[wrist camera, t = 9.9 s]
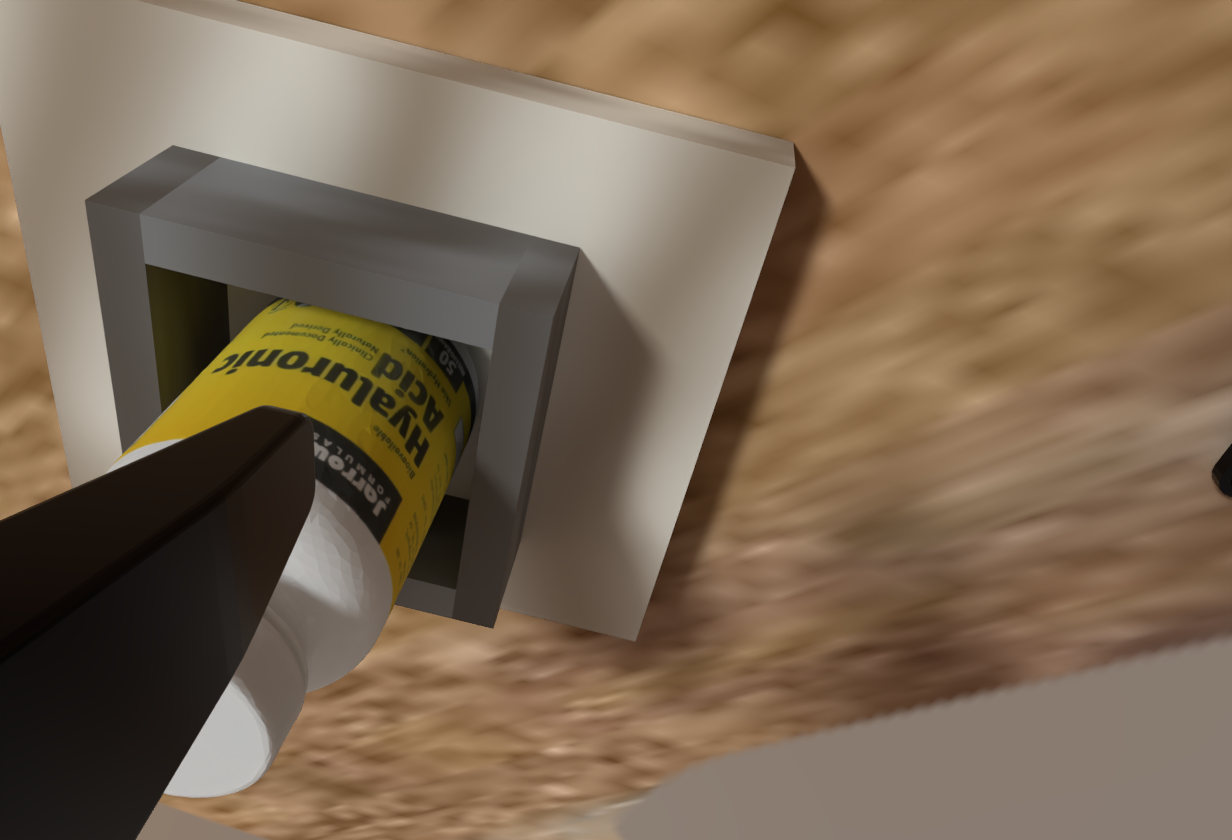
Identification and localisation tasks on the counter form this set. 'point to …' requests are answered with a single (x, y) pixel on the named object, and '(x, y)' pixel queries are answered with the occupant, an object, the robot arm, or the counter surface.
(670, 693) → the counter surface
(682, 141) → the holder board
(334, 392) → the supplement bottle
